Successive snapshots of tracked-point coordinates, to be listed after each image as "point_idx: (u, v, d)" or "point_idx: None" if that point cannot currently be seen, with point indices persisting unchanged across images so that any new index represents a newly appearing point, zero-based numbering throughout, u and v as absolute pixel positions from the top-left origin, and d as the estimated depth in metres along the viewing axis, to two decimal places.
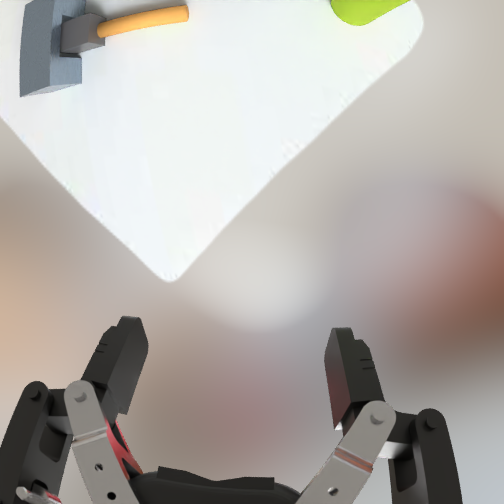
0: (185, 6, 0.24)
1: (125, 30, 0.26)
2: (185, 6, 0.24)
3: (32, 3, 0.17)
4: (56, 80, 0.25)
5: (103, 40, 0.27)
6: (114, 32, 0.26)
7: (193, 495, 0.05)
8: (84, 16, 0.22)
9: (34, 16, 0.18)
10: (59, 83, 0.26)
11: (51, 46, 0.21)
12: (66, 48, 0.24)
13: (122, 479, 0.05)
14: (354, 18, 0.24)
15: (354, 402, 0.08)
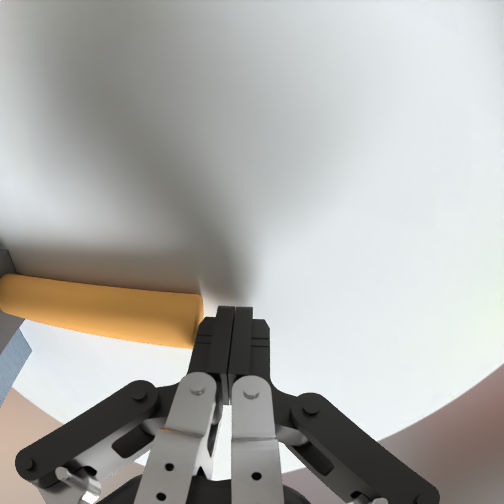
0: (193, 315, 0.11)
1: None
2: (193, 318, 0.11)
3: None
4: None
5: None
6: None
7: (193, 495, 0.05)
8: None
9: None
10: (2, 400, 0.12)
11: None
12: None
13: (184, 489, 0.05)
14: None
15: (232, 374, 0.09)
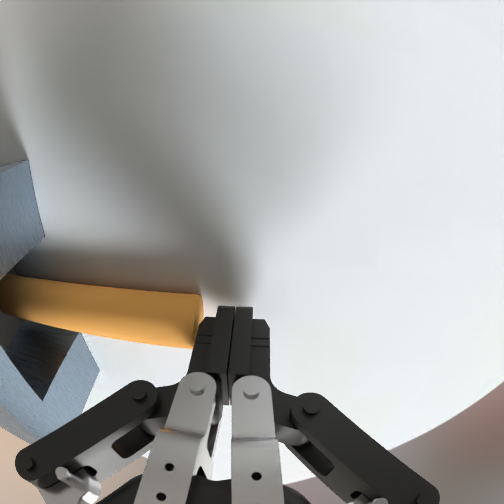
0: (193, 315, 0.11)
1: None
2: (193, 318, 0.11)
3: None
4: None
5: None
6: None
7: (193, 495, 0.05)
8: None
9: None
10: None
11: (14, 413, 0.08)
12: None
13: (184, 489, 0.05)
14: None
15: (232, 374, 0.09)
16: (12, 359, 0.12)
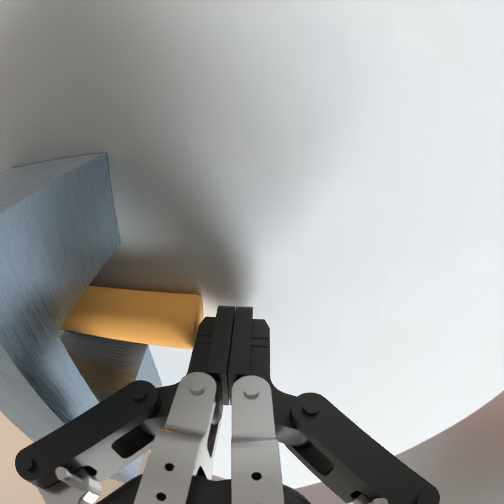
0: (193, 315, 0.11)
1: None
2: (193, 318, 0.11)
3: None
4: (137, 461, 0.12)
5: None
6: None
7: (193, 495, 0.05)
8: None
9: None
10: (142, 455, 0.12)
11: None
12: None
13: (184, 489, 0.05)
14: None
15: (232, 374, 0.09)
16: None
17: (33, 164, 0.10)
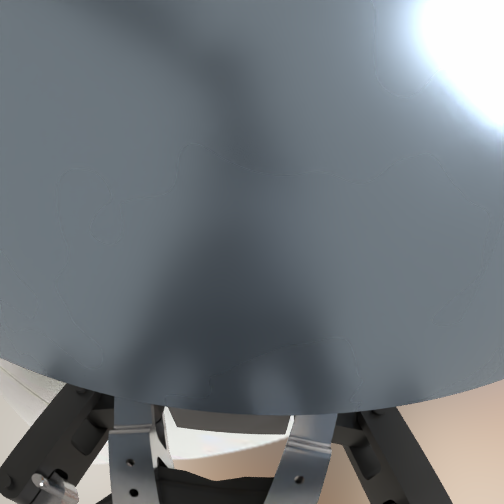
0: None
1: None
2: None
3: None
4: None
5: None
6: None
7: (193, 495, 0.05)
8: None
9: None
10: None
11: None
12: (284, 420, 0.09)
13: (151, 480, 0.05)
14: None
15: None
16: None
17: None
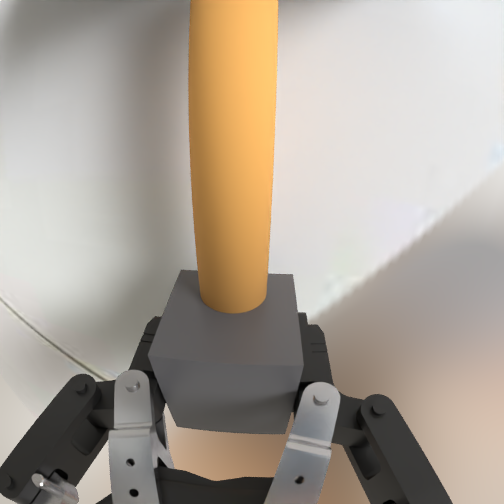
0: None
1: (270, 189, 0.08)
2: None
3: None
4: None
5: (274, 280, 0.11)
6: (265, 240, 0.09)
7: (193, 495, 0.05)
8: (162, 373, 0.08)
9: None
10: None
11: None
12: (283, 420, 0.10)
13: (151, 480, 0.05)
14: None
15: None
16: None
17: None
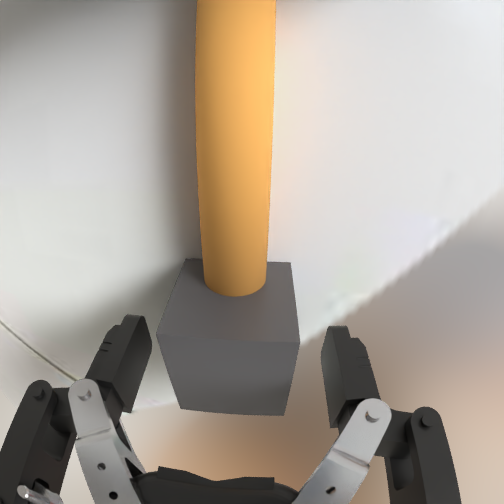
0: None
1: (268, 181, 0.09)
2: None
3: None
4: None
5: (273, 268, 0.12)
6: (264, 228, 0.10)
7: (193, 495, 0.05)
8: (169, 351, 0.09)
9: None
10: None
11: None
12: (282, 400, 0.10)
13: (125, 479, 0.05)
14: None
15: (349, 400, 0.08)
16: None
17: None
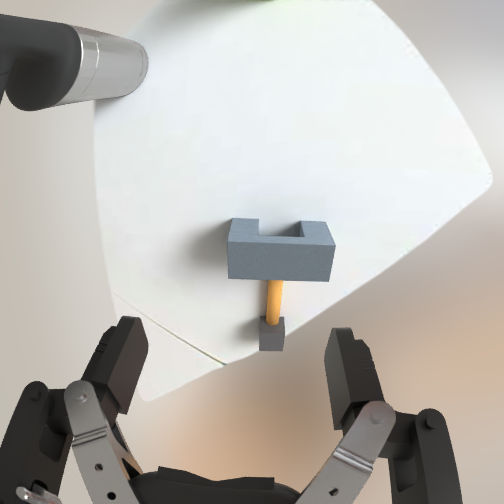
0: None
1: None
2: None
3: (231, 269, 0.41)
4: (329, 240, 0.39)
5: (280, 318, 0.55)
6: (278, 313, 0.52)
7: (193, 495, 0.05)
8: (261, 336, 0.52)
9: (249, 265, 0.40)
10: (331, 238, 0.40)
11: (295, 243, 0.39)
12: (282, 346, 0.53)
13: (122, 479, 0.05)
14: None
15: (354, 402, 0.08)
16: None
17: None
